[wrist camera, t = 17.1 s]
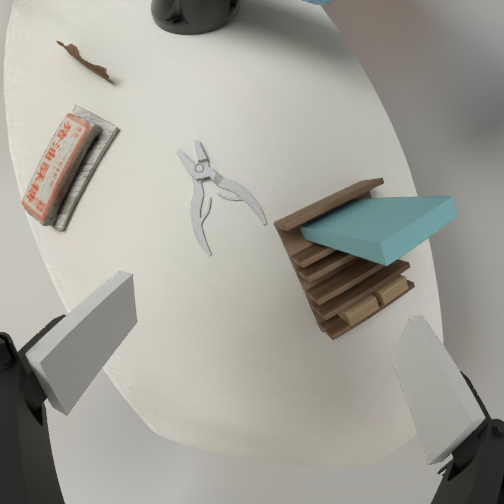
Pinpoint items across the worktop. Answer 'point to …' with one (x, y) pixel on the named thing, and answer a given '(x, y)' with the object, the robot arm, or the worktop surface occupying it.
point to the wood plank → (95, 68)
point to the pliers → (204, 171)
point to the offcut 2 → (391, 289)
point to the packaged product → (67, 167)
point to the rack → (335, 264)
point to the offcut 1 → (359, 310)
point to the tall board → (381, 225)
